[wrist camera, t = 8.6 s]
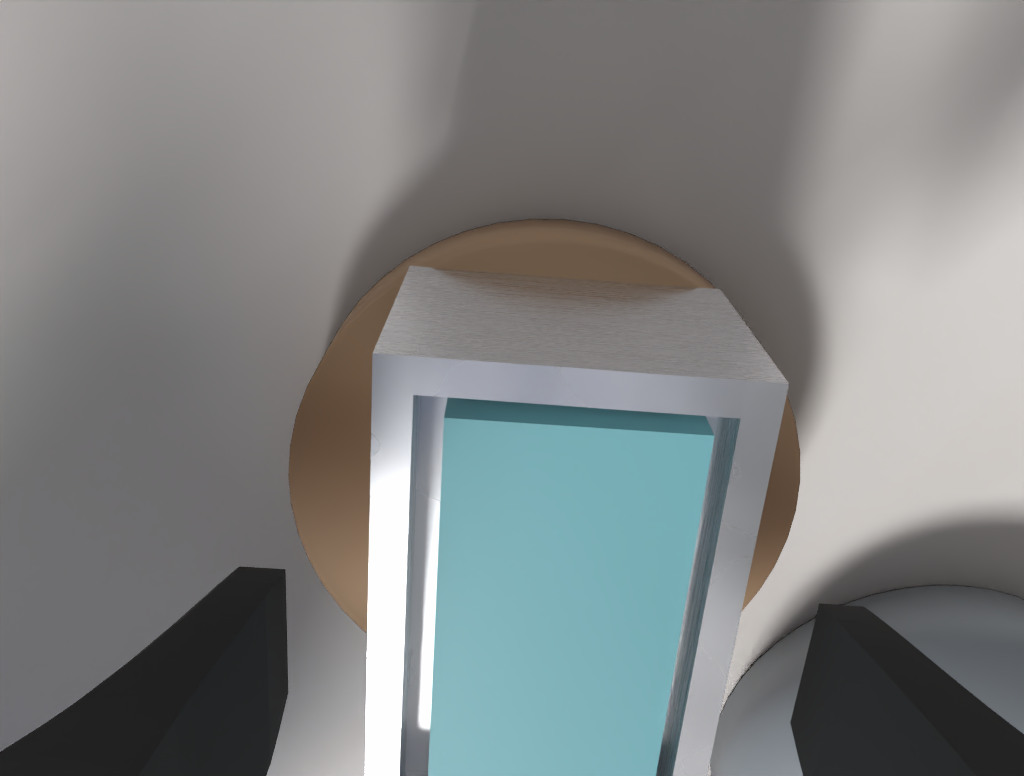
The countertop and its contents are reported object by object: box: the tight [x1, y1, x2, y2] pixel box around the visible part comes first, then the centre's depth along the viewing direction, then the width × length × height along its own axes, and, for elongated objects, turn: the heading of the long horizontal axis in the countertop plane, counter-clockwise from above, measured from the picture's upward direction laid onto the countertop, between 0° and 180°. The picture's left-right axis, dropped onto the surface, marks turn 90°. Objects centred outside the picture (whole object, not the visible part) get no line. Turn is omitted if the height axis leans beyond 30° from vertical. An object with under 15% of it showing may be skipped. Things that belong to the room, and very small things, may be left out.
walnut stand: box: [289, 219, 800, 634], centre depth 17 cm, size 9×9×2 cm
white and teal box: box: [365, 266, 789, 776], centre depth 14 cm, size 8×5×4 cm, turn 176°
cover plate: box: [428, 397, 714, 776], centre depth 13 cm, size 6×3×1 cm, turn 176°
